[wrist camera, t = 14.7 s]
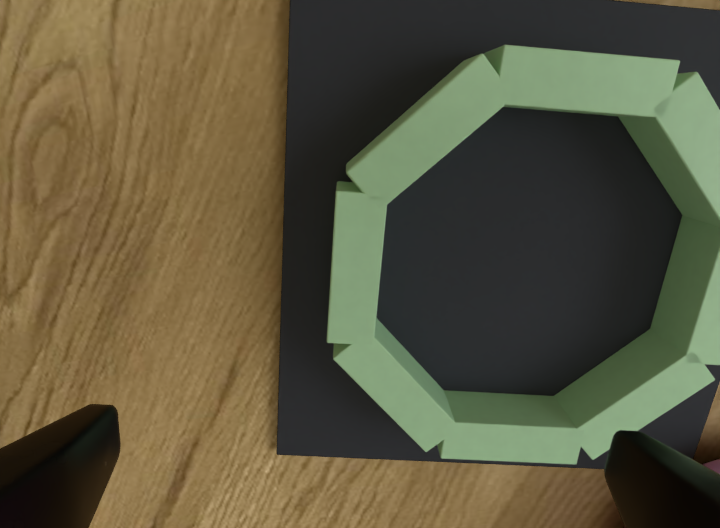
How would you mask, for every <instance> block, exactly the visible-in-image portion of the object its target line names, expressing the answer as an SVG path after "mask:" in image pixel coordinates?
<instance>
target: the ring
mask: <svg viewBox="0 0 720 528" xmlns="http://www.w3.org/2000/svg"><path fill="white" fill-rule="evenodd" d="M679 64H680V61H679V60H672V59H661V58H649V57H638V56H627V55H616V54H604V53H593V52H582V51H571V50H559V49H548V48H537V47H526V46H514V45H503V46H501V47H498V48H496V49H493V50H491V51H488V52H486V53H484V54H482V53H481V54H479V55H476V56H474V57H471V58H469V59H466V60H464V61H463V62H461V63H460V64H459V65H458V66H457V67H456V68H455V69H453V70H452V71H451V72H450V73H449V74H448V75H447V76H446V77H444V78H443V79H442V80H441V81H440V82H439V83H438V84H436V85H435V86H434V87H433V88H432V89H431V90H430V91H428V92H427V93H426V94H425V95H424V96H423V97H422V98H421V99H419V100H418V101H417V102H416V103H415V104H414V105H413V106H411V107H410V108H409V109H408V110H407V111H406V112H405V113H403V114H402V115H401V116H400V117H399V118H398V119H397V120H395V121H394V122H393V123H392V124H391V125H390V126H389V127H388V128H386V129H385V130H384V131H383V132H382V133H381V134H380V135H378V136H377V137H376V138H375V139H374V140H373V141H372V142H370V143H369V144H368V145H367V146H366V147H365V148H364V149H363V150H361V151H360V152H359V153H358V154H357V155H356V156H355V157H353V158H352V159H351V160H350V161H349V162H348V163H347V164H346V174H347V175H348V177H349V178H350V179H351V180H352V181H353V182H344V181H338V182H337V186H336V197H335V213H334V229H333V245H332V261H331V277H330V293H329V310H328V326H327V343H334V349H333V359H334V360H335V361H336V362H337V363H338V364H339V365H340V366H341V367H342V368H343V369H344V370H345V371H346V372H347V373H348V375H349V376H350V377H351V378H352V379H353V380H354V381H355V382H356V383H357V384H358V385H359V386H360V387H361V388H362V389H363V390H364V391H365V392H366V393H367V394H368V395H369V396H370V397H371V398H372V399H373V400H374V401H375V402H376V403H377V404H378V405H379V406H380V407H381V408H382V409H383V410H384V411H385V412H386V413H387V414H388V415H389V416H390V417H391V418H392V419H393V420H394V421H395V422H396V423H397V424H398V425H399V426H400V427H401V428H402V429H403V430H404V431H405V432H406V433H407V434H408V435H409V436H410V437H411V438H412V439H413V440H414V441H415V442H416V443H417V444H418V445H419V446H420V447H421V448H422V449H423V450H424V451H425V452H427V451H429V450H430V449H431V448H433V447H434V446H436V445H437V446H438V450H439V454H440V457H441V458H442V459H463V460H486V461H508V462H530V463H552V464H574V465H575V464H577V460H578V456H579V452H580V448H581V447H582V448H583V450H584V451H585V452H586V453H587V454H588V455H589V457H590V458H591V459H592V460H594V459H595V458H597V457H598V456H600V455H601V454H603V453H604V452H606V451H608V450H609V449H610V445H611V442H612V438H613V436H614V434H615V433H616V432H617V431H619V430H628V431H638V430H640V429H641V428H643V427H644V426H646V425H647V424H649V423H650V422H652V421H653V420H655V419H656V418H658V417H659V416H661V415H662V414H664V413H666V412H667V411H669V410H670V409H672V408H673V407H675V406H676V405H678V404H679V403H681V402H682V401H684V400H685V399H687V398H688V397H690V396H692V395H693V394H695V393H696V392H698V391H699V390H701V389H702V388H704V387H705V386H707V385H708V384H710V383H711V382H713V381H714V380H715V378H714V377H713V376H712V374H711V373H710V371H709V370H708V368H707V367H706V366H705V364H707V365H720V110H719V108H718V106H717V104H716V103H715V101H714V99H713V98H712V96H711V94H710V92H709V91H708V89H707V87H706V86H705V84H704V82H703V80H702V79H701V77H700V75H699V74H698V72H688V73H679V74H677V72H678V68H679ZM502 107H510V108H522V109H535V110H547V111H559V112H571V113H583V114H595V115H607V116H618V117H619V119H620V120H621V122H622V123H623V125H624V126H625V128H626V129H627V131H628V132H629V134H630V135H631V137H632V139H633V140H634V142H635V143H636V145H637V146H638V148H639V149H640V151H641V152H642V154H643V155H644V157H645V158H646V160H647V162H648V163H649V165H650V166H651V168H652V169H653V171H654V172H655V174H656V175H657V177H658V178H659V180H660V181H661V183H662V185H663V186H664V188H665V189H666V191H667V192H668V194H669V195H670V197H671V198H672V200H673V201H674V203H675V204H676V206H677V208H678V209H679V211H680V212H681V214H682V218H681V222H680V225H679V229H678V232H677V236H676V239H675V243H674V246H673V250H672V253H671V257H670V260H669V264H668V267H667V271H666V275H665V278H664V282H663V285H662V289H661V292H660V296H659V299H658V303H657V306H656V310H655V313H654V317H653V320H652V324H651V327H650V329H649V330H648V331H646V332H645V333H643V334H642V335H641V336H639V337H638V338H636V339H635V340H633V341H632V342H630V343H629V344H628V345H626V346H625V347H623V348H622V349H620V350H619V351H618V352H616V353H615V354H613V355H612V356H610V357H609V358H607V359H606V360H605V361H603V362H602V363H600V364H599V365H597V366H596V367H594V368H593V369H592V370H590V371H589V372H587V373H586V374H584V375H583V376H582V377H580V378H579V379H577V380H576V381H574V382H573V383H571V384H570V385H569V386H567V387H566V388H564V389H563V390H561V391H560V392H559V393H557V394H556V395H554V396H543V395H524V394H505V393H486V392H467V391H448V390H443V389H442V388H441V387H440V386H439V385H438V383H437V382H436V381H435V380H434V379H433V378H432V377H431V376H430V375H429V374H428V373H427V372H426V371H425V370H424V368H423V367H422V366H421V365H420V364H419V363H418V362H417V361H416V360H415V359H414V358H413V357H412V356H411V354H410V353H409V352H408V351H407V350H406V349H405V348H404V347H403V346H402V345H401V344H400V343H399V342H398V341H397V339H396V338H395V337H394V336H393V335H392V334H391V333H390V332H389V331H388V330H387V329H386V328H385V327H384V325H383V324H382V323H381V322H380V321H379V320H378V319H377V318H376V316H377V306H378V295H379V285H380V274H381V263H382V253H383V242H384V232H385V221H386V211H387V204H388V203H390V202H391V201H392V200H393V199H394V198H396V197H397V196H398V195H399V194H400V193H402V192H403V191H404V190H405V189H406V188H407V187H409V186H410V185H411V184H412V183H413V182H415V181H416V180H417V179H418V178H419V177H421V176H422V175H423V174H424V173H425V172H426V171H428V170H429V169H430V168H431V167H432V166H434V165H435V164H436V163H437V162H438V161H440V160H441V159H442V158H443V157H444V156H445V155H447V154H448V153H449V152H450V151H451V150H453V149H454V148H455V147H456V146H457V145H459V144H460V143H461V142H462V141H463V140H464V139H466V138H467V137H468V136H469V135H470V134H472V133H473V132H474V131H475V130H476V129H478V128H479V127H480V126H481V125H482V124H483V123H485V122H486V121H487V120H488V119H489V118H491V117H492V116H493V115H494V114H495V113H497V112H498V111H499V110H500V109H501V108H502Z"/></svg>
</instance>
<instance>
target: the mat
mask: <svg viewBox="0 0 720 528" xmlns="http://www.w3.org/2000/svg"><path fill="white" fill-rule="evenodd" d="M503 45H514V46H526V47H537V48H548V49H559V50H571V51H582V52H593V53H604V54H616V55H627V56H638V57H649V58H661V59H672V60H679V61H680V64H679V68H678V72H677V74H679V73H688V72H698V74H699V75H700V77H701V79H702V80H703V82H704V84H705V86H706V87H707V89H708V91H709V92H710V94H711V96H712V98H713V99H714V101H715V103H716V104H717V106H718V108H719V110H720V10H709V9H699V8H688V7H677V6H667V5H656V4H645V3H635V2H624V1H614V0H290V16H289V51H288V85H287V119H286V153H285V188H284V222H283V256H282V291H281V325H280V359H279V393H278V428H277V455H298V456H321V457H344V458H366V459H389V460H411V461H434V462H456V463H479V464H502V465H524V466H547V467H569V468H592V469H605V463H606V460H607V456H608V453H609V450H608V451H606V452H604V453H603V454H601V455H600V456H598V457H597V458H595V459H594V460H592V459H591V458H590V457H589V455H588V454H587V453H586V452H585V451H584V450H583V448H582V447H581V448H580V452H579V456H578V460H577V464H575V465H574V464H552V463H530V462H508V461H486V460H463V459H442V458H441V457H440V454H439V450H438V446H437V445H436V446H434V447H433V448H431V449H430V450H429V451H427V452H425V451H424V450H423V449H422V448H421V447H420V446H419V445H418V444H417V443H416V442H415V441H414V440H413V439H412V438H411V437H410V436H409V435H408V434H407V433H406V432H405V431H404V430H403V429H402V428H401V427H400V426H399V425H398V424H397V423H396V422H395V421H394V420H393V419H392V418H391V417H390V416H389V415H388V414H387V413H386V412H385V411H384V410H383V409H382V408H381V407H380V406H379V405H378V404H377V403H376V402H375V401H374V400H373V399H372V398H371V397H370V396H369V395H368V394H367V393H366V392H365V391H364V390H363V389H362V388H361V387H360V386H359V385H358V384H357V383H356V382H355V381H354V380H353V379H352V378H351V377H350V376H349V375H348V373H347V372H346V371H345V370H344V369H343V368H342V367H341V366H340V365H339V364H338V363H337V362H336V361H335V360H334V359H333V349H334V343H327V326H328V310H329V293H330V277H331V261H332V245H333V229H334V213H335V197H336V186H337V182H338V181H344V182H353V181H352V180H351V179H350V178H349V177H348V175H347V174H346V164H347V163H348V162H349V161H350V160H351V159H352V158H353V157H355V156H356V155H357V154H358V153H359V152H360V151H361V150H363V149H364V148H365V147H366V146H367V145H368V144H369V143H370V142H372V141H373V140H374V139H375V138H376V137H377V136H378V135H380V134H381V133H382V132H383V131H384V130H385V129H386V128H388V127H389V126H390V125H391V124H392V123H393V122H394V121H395V120H397V119H398V118H399V117H400V116H401V115H402V114H403V113H405V112H406V111H407V110H408V109H409V108H410V107H411V106H413V105H414V104H415V103H416V102H417V101H418V100H419V99H421V98H422V97H423V96H424V95H425V94H426V93H427V92H428V91H430V90H431V89H432V88H433V87H434V86H435V85H436V84H438V83H439V82H440V81H441V80H442V79H443V78H444V77H446V76H447V75H448V74H449V73H450V72H451V71H452V70H453V69H455V68H456V67H457V66H458V65H459V64H460V63H461V62H463V61H464V60H466V59H469V58H471V57H474V56H476V55H479V54H481V53H482V54H484V53H486V52H488V51H491V50H493V49H496V48H498V47H501V46H503ZM681 218H682V214H681V212H680V211H679V209H678V208H677V206H676V204H675V203H674V201H673V200H672V198H671V197H670V195H669V194H668V192H667V191H666V189H665V188H664V186H663V185H662V183H661V181H660V180H659V178H658V177H657V175H656V174H655V172H654V171H653V169H652V168H651V166H650V165H649V163H648V162H647V160H646V158H645V157H644V155H643V154H642V152H641V151H640V149H639V148H638V146H637V145H636V143H635V142H634V140H633V139H632V137H631V135H630V134H629V132H628V131H627V129H626V128H625V126H624V125H623V123H622V122H621V120H620V119H619V117H618V116H607V115H595V114H583V113H571V112H559V111H547V110H535V109H522V108H510V107H502V108H501V109H500V110H499V111H498V112H497V113H495V114H494V115H493V116H492V117H491V118H489V119H488V120H487V121H486V122H485V123H483V124H482V125H481V126H480V127H479V128H478V129H476V130H475V131H474V132H473V133H472V134H470V135H469V136H468V137H467V138H466V139H464V140H463V141H462V142H461V143H460V144H459V145H457V146H456V147H455V148H454V149H453V150H451V151H450V152H449V153H448V154H447V155H445V156H444V157H443V158H442V159H441V160H440V161H438V162H437V163H436V164H435V165H434V166H432V167H431V168H430V169H429V170H428V171H426V172H425V173H424V174H423V175H422V176H421V177H419V178H418V179H417V180H416V181H415V182H413V183H412V184H411V185H410V186H409V187H407V188H406V189H405V190H404V191H403V192H402V193H400V194H399V195H398V196H397V197H396V198H394V199H393V200H392V201H391V202H390V203H388V204H387V211H386V221H385V232H384V242H383V253H382V263H381V274H380V285H379V295H378V306H377V316H376V318H377V319H378V320H379V321H380V322H381V323H382V324H383V325H384V327H385V328H386V329H387V330H388V331H389V332H390V333H391V334H392V335H393V336H394V337H395V338H396V339H397V341H398V342H399V343H400V344H401V345H402V346H403V347H404V348H405V349H406V350H407V351H408V352H409V353H410V354H411V356H412V357H413V358H414V359H415V360H416V361H417V362H418V363H419V364H420V365H421V366H422V367H423V368H424V370H425V371H426V372H427V373H428V374H429V375H430V376H431V377H432V378H433V379H434V380H435V381H436V382H437V383H438V385H439V386H440V387H441V388H442V389H443V390H448V391H467V392H486V393H505V394H524V395H543V396H554V395H556V394H557V393H559V392H560V391H561V390H563V389H564V388H566V387H567V386H569V385H570V384H571V383H573V382H574V381H576V380H577V379H579V378H580V377H582V376H583V375H584V374H586V373H587V372H589V371H590V370H592V369H593V368H594V367H596V366H597V365H599V364H600V363H602V362H603V361H605V360H606V359H607V358H609V357H610V356H612V355H613V354H615V353H616V352H618V351H619V350H620V349H622V348H623V347H625V346H626V345H628V344H629V343H630V342H632V341H633V340H635V339H636V338H638V337H639V336H641V335H642V334H643V333H645V332H646V331H648V330H649V329H650V327H651V324H652V320H653V317H654V313H655V310H656V306H657V303H658V299H659V296H660V292H661V289H662V285H663V282H664V278H665V275H666V271H667V267H668V264H669V260H670V257H671V253H672V250H673V246H674V243H675V239H676V236H677V232H678V229H679V225H680V222H681ZM705 366H706V367H707V368H708V370H709V371H710V373H711V374H712V376H713V377H714V378H715V380H714V381H713V382H711V383H710V384H708V385H707V386H705V387H704V388H702V389H701V390H699V391H698V392H696V393H695V394H693V395H692V396H690V397H688V398H687V399H685V400H684V401H682V402H681V403H679V404H678V405H676V406H675V407H673V408H672V409H670V410H669V411H667V412H666V413H664V414H662V415H661V416H659V417H658V418H656V419H655V420H653V421H652V422H650V423H649V424H647V425H646V426H644V427H643V428H641V429H640V430H638V431H640V432H643V433H645V434H647V435H648V436H650V437H652V438H654V439H656V440H658V441H660V442H661V443H663V444H665V445H667V446H669V447H671V448H672V449H674V450H676V451H678V452H680V453H682V454H684V455H685V456H687V457H689V458H691V459H693V457H694V454H695V451H696V449H697V446H698V443H699V440H700V437H701V434H702V431H703V428H704V425H705V422H706V420H707V417H708V414H709V411H710V408H711V405H712V402H713V399H714V396H715V393H716V390H717V388H718V385H719V382H720V365H707V364H705Z"/></svg>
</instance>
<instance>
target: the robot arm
mask: <svg viewBox="0 0 720 528" xmlns="http://www.w3.org/2000/svg"><path fill="white" fill-rule="evenodd" d="M119 453H120V433H119V422H118V412H117V409H116V408H115V407H114V406H113V405H101V404H90V405H88V406H85V407H83V408H81V409H79V410H77V411H75V412H73V413H71V414H69V415H67V416H65V417H63V418H61V419H59V420H57V421H55V422H53V423H51V424H49V425H47V426H45V427H43V428H41V429H39V430H37V431H35V432H33V433H31V434H29V435H27V436H25V437H23V438H21V439H19V440H17V441H15V442H13V443H11V444H9V445H7V446H5V447H3V448H1V449H0V528H89V526H90V523H91V521H92V519H93V516H94V514H95V512H96V509H97V507H98V505H99V502H100V500H101V498H102V495H103V493H104V491H105V488H106V486H107V483H108V481H109V479H110V476H111V474H112V472H113V469H114V467H115V465H116V462H117V460H118V457H119ZM604 472H605V478H606V482H607V484H608V487H609V489H610V492H611V494H612V496H613V499H614V501H615V504H616V506H617V508H618V511H619V513H620V516H621V518H622V520H623V523H624V525H625V528H720V474H719V473H717V472H715V471H713V470H711V469H709V468H708V467H706V466H704V465H702V464H700V463H698V462H697V461H695V460H693V459H691V458H689V457H687V456H685V455H684V454H682V453H680V452H678V451H676V450H674V449H672V448H671V447H669V446H667V445H665V444H663V443H661V442H660V441H658V440H656V439H654V438H652V437H650V436H648V435H647V434H645V433H643V432H640V431H628V430H619V431H617V432H616V433H615V434H614V436H613V438H612V442H611V445H610V449H609V453H608V456H607V460H606V463H605V470H604Z"/></svg>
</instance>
